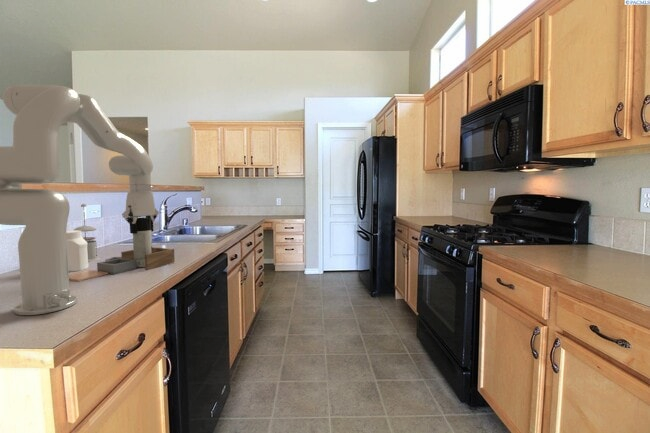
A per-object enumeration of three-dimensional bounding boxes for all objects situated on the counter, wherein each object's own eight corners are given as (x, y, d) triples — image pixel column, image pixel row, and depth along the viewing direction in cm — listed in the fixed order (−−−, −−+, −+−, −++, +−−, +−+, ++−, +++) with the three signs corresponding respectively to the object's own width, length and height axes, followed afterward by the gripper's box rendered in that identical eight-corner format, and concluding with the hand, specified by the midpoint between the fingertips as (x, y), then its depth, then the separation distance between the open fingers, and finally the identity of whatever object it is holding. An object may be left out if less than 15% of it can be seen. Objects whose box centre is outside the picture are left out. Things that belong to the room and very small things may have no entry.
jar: (49, 274, 114) (46, 234, 112) (51, 269, 121) (49, 231, 120) (88, 269, 121) (86, 232, 119) (88, 264, 128) (86, 229, 127)
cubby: (174, 262, 134) (174, 249, 133) (147, 269, 122) (147, 254, 121) (150, 259, 139) (149, 246, 138) (121, 266, 126) (121, 252, 126)
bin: (136, 268, 123) (135, 260, 123) (114, 274, 115) (113, 265, 114) (120, 266, 126) (119, 258, 126) (97, 271, 118) (97, 262, 117)
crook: (145, 260, 138) (145, 257, 138) (137, 263, 133) (137, 260, 133) (114, 259, 138) (114, 256, 138) (105, 262, 133) (105, 259, 132)
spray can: (155, 265, 129) (154, 217, 127) (139, 268, 123) (137, 219, 121) (147, 263, 132) (145, 217, 131) (130, 266, 127) (128, 218, 125)
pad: (108, 274, 115) (107, 272, 115) (78, 281, 106) (78, 279, 106) (89, 271, 118) (89, 269, 118) (60, 278, 109) (60, 276, 109)
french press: (82, 263, 131) (79, 204, 129) (64, 261, 134) (60, 204, 132) (105, 258, 140) (102, 203, 138) (87, 256, 144) (84, 203, 142)
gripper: (152, 188, 134) (153, 229, 136) (112, 188, 118) (115, 234, 120) (165, 189, 132) (166, 230, 133) (126, 188, 116) (128, 235, 117)
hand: (142, 231), depth 126 cm, fingers closed on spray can, 6 cm apart
